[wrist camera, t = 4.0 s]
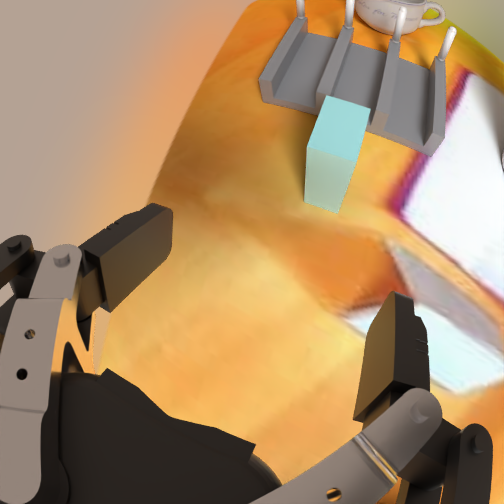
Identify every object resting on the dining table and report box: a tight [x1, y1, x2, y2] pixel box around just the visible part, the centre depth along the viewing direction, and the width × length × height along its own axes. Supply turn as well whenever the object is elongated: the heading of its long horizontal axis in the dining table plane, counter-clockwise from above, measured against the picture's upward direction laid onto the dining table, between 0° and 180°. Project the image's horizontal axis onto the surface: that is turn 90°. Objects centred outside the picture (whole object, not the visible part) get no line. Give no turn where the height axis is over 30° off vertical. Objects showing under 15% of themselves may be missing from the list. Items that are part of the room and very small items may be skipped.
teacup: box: [355, 0, 445, 35], centre depth 29 cm, size 14×11×8 cm
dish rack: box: [259, 0, 456, 157], centre depth 26 cm, size 20×14×10 cm
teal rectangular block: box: [304, 95, 371, 214], centre depth 24 cm, size 3×5×10 cm
